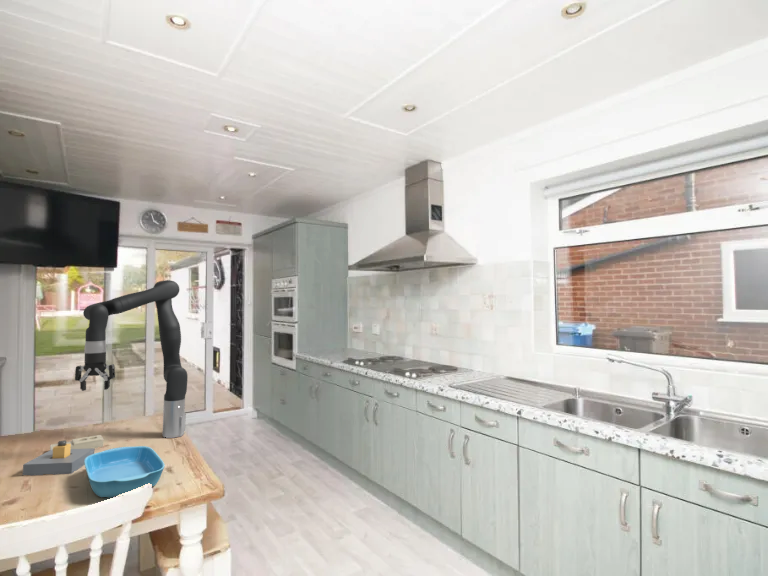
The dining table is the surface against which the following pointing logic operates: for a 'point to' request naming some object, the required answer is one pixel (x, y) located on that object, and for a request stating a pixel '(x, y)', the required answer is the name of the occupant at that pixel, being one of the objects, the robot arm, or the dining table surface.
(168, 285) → the robot arm
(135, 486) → the casserole dish
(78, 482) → the dining table surface
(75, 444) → the electrical outlet
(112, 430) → the dining table surface
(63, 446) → the plug
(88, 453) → the socket
